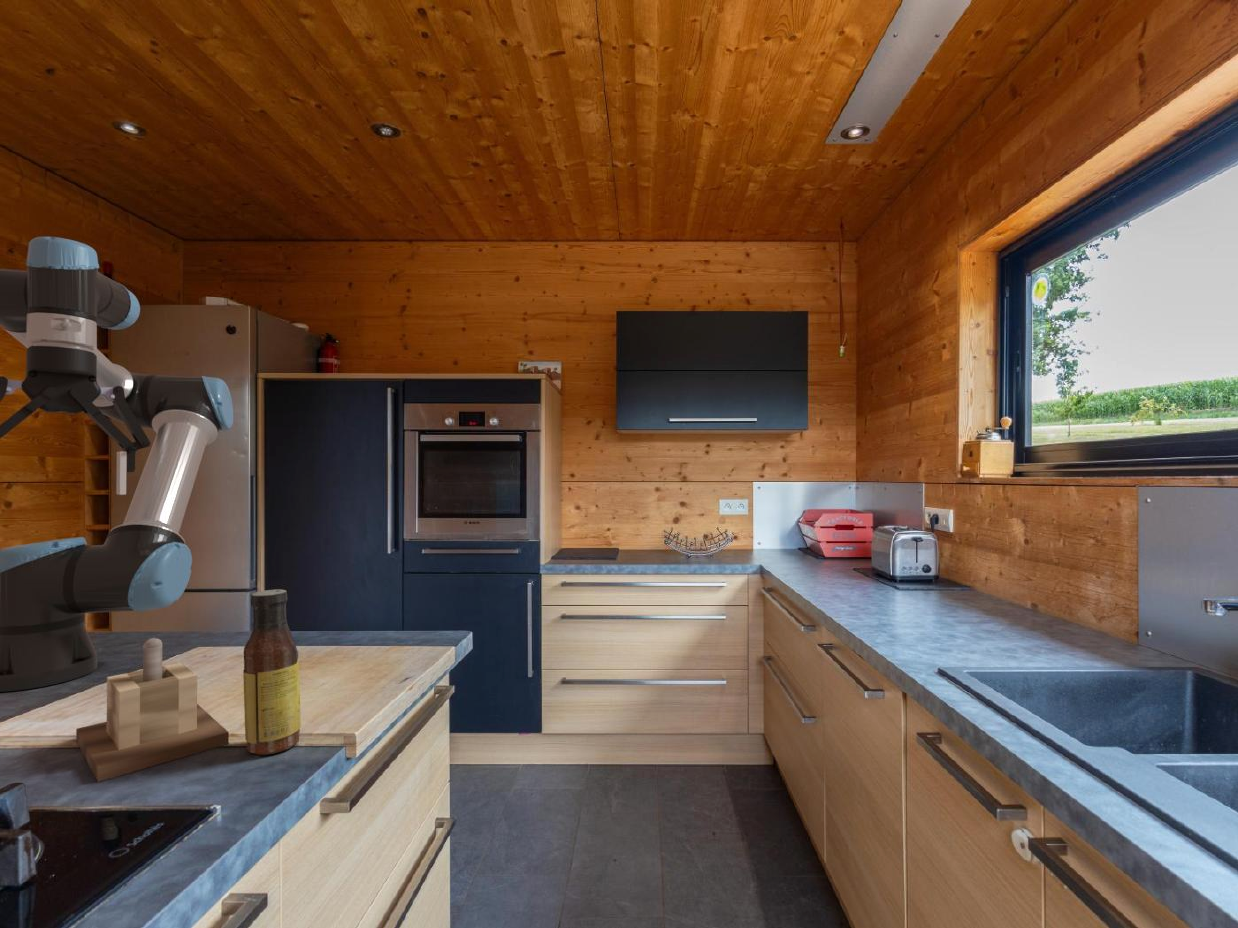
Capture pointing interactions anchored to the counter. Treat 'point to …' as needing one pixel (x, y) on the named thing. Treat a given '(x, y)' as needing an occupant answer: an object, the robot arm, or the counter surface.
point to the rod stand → (117, 762)
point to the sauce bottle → (271, 678)
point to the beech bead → (151, 706)
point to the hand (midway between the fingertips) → (61, 496)
